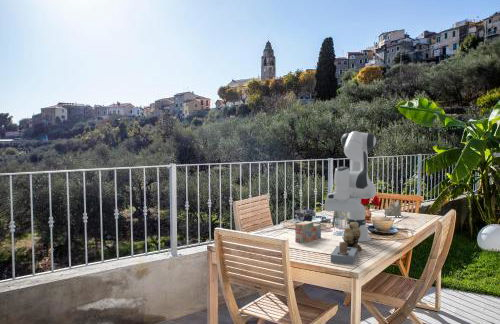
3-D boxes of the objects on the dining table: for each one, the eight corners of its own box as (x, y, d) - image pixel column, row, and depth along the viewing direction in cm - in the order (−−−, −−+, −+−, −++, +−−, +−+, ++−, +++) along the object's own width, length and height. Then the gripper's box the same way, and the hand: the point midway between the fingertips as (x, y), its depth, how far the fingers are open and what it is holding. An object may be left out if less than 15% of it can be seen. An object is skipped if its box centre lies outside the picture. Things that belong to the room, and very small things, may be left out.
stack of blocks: (313, 236, 277) (313, 218, 277) (321, 237, 273) (321, 219, 272) (295, 242, 261) (295, 223, 261) (303, 243, 257) (303, 224, 257)
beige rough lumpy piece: (346, 245, 252) (347, 218, 252) (365, 248, 246) (365, 220, 245) (336, 251, 237) (336, 223, 237) (355, 254, 231) (356, 225, 230)
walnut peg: (339, 259, 221) (339, 241, 221) (347, 260, 220) (347, 242, 219) (338, 261, 217) (338, 243, 217) (346, 262, 216) (346, 244, 215)
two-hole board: (336, 252, 235) (336, 245, 235) (357, 254, 230) (357, 247, 230) (330, 262, 216) (330, 254, 216) (353, 264, 212) (353, 257, 212)
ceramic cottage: (398, 214, 359) (397, 197, 358) (404, 218, 343) (403, 201, 341) (380, 215, 360) (379, 199, 359) (386, 219, 343) (385, 202, 342)
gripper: (361, 194, 225) (361, 218, 227) (325, 193, 233) (326, 217, 234) (360, 196, 220) (360, 221, 221) (323, 195, 227) (323, 219, 228)
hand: (342, 219), depth 227 cm, fingers closed
